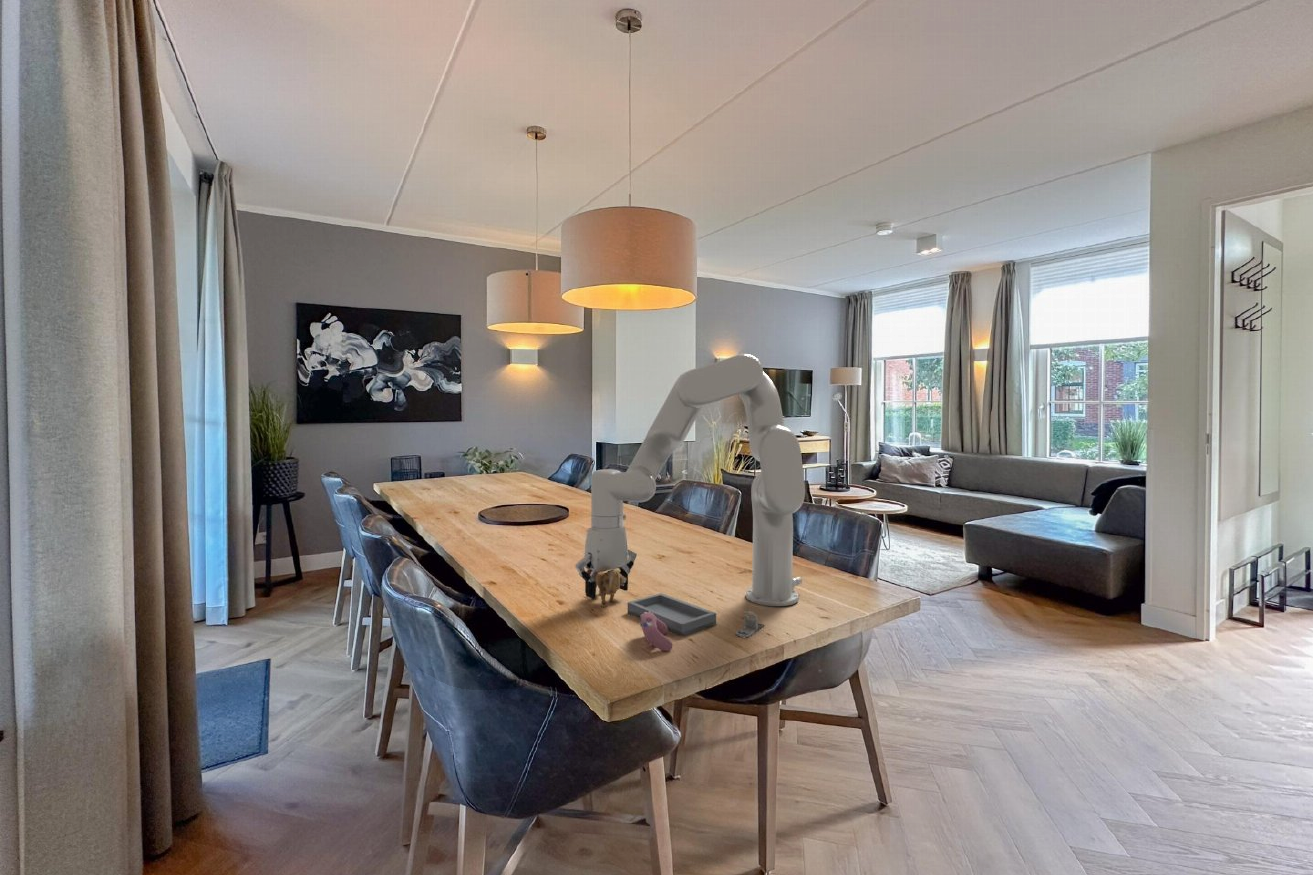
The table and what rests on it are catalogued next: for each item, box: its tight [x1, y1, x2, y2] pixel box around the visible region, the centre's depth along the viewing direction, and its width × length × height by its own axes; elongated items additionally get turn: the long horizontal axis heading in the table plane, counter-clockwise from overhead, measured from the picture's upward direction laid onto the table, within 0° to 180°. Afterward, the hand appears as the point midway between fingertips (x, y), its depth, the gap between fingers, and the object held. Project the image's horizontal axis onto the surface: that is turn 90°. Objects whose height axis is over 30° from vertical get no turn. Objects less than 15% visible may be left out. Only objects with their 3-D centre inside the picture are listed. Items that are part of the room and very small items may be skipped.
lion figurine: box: [594, 568, 627, 608], centre depth 141 cm, size 15×5×9 cm, turn 34°
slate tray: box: [627, 593, 717, 637], centre depth 129 cm, size 10×18×2 cm, turn 41°
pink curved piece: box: [639, 611, 673, 652], centre depth 116 cm, size 10×5×7 cm, turn 5°
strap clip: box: [735, 610, 765, 639], centre depth 123 cm, size 8×3×4 cm, turn 145°
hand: (607, 593), depth 140 cm, fingers open, 9 cm apart
